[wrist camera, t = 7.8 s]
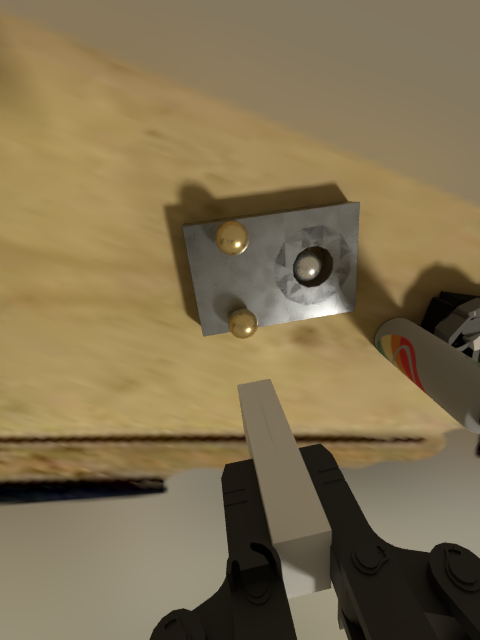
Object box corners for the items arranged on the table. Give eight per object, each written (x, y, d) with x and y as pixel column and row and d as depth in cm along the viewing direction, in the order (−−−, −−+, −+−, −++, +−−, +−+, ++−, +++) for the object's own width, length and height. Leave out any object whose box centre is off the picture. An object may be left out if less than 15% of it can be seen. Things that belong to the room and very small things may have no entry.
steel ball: (300, 274, 36) (286, 283, 34) (299, 248, 35) (285, 254, 33) (326, 277, 34) (312, 286, 32) (326, 248, 33) (312, 256, 31)
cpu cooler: (498, 382, 39) (432, 378, 37) (462, 360, 45) (403, 355, 43) (540, 309, 36) (469, 300, 34) (496, 294, 41) (432, 285, 39)
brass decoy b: (216, 254, 30) (219, 261, 28) (211, 221, 29) (214, 225, 26) (247, 249, 31) (253, 256, 28) (244, 217, 29) (249, 220, 27)
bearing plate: (202, 327, 36) (203, 336, 34) (183, 224, 31) (182, 226, 29) (345, 303, 38) (354, 310, 35) (348, 201, 33) (359, 202, 30)
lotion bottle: (368, 354, 41) (505, 483, 23) (379, 316, 39) (539, 426, 21) (405, 354, 42) (565, 478, 24) (418, 316, 40) (604, 423, 22)
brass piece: (228, 332, 34) (231, 346, 31) (224, 307, 33) (227, 318, 30) (256, 328, 34) (261, 341, 32) (253, 302, 33) (259, 313, 30)
